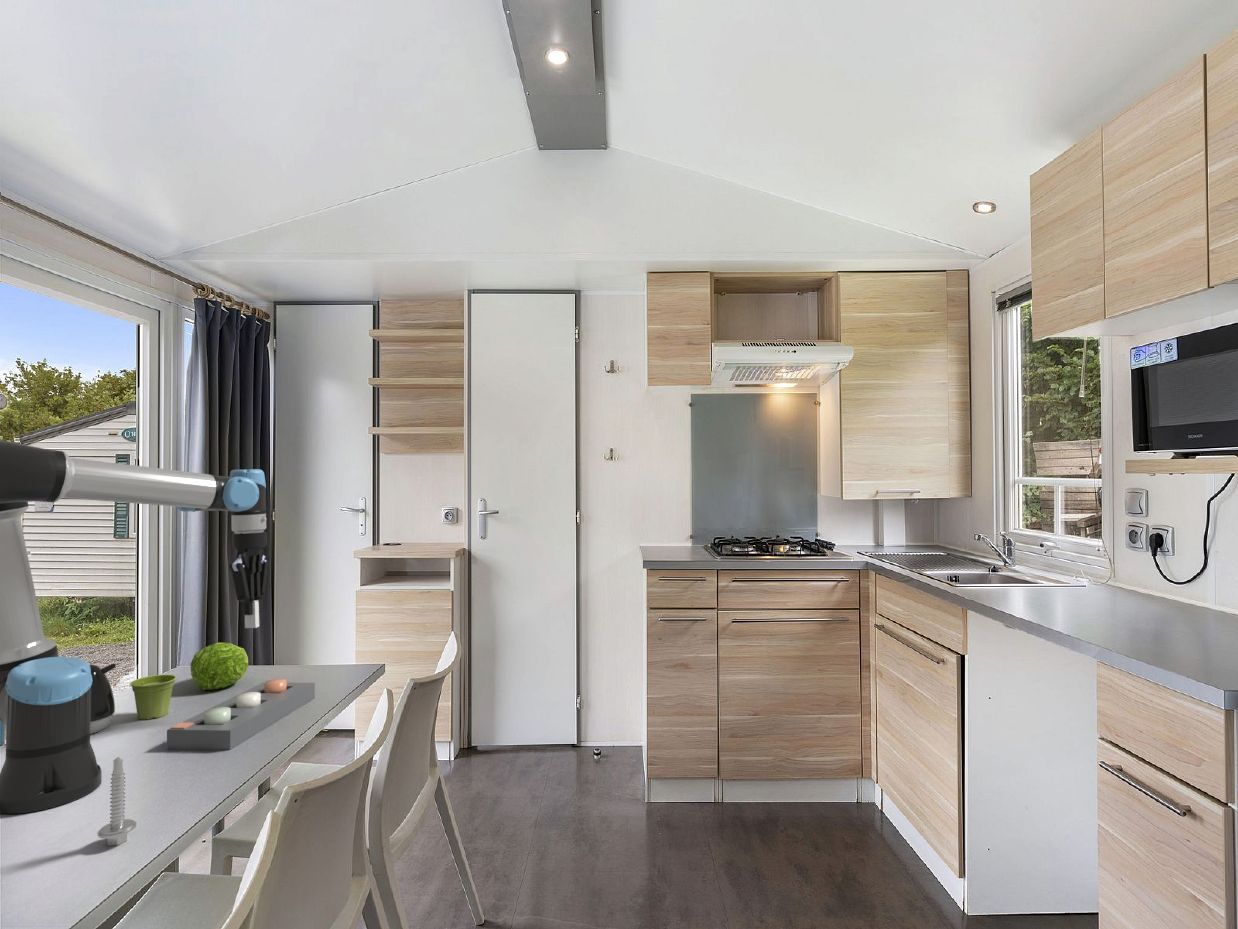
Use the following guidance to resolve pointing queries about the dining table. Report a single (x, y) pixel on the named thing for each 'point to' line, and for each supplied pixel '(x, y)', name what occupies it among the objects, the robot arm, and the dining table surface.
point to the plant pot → (153, 695)
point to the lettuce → (218, 666)
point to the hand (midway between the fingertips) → (252, 627)
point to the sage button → (217, 716)
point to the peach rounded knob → (275, 686)
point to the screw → (117, 810)
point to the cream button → (248, 700)
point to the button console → (239, 719)
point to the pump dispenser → (101, 698)
